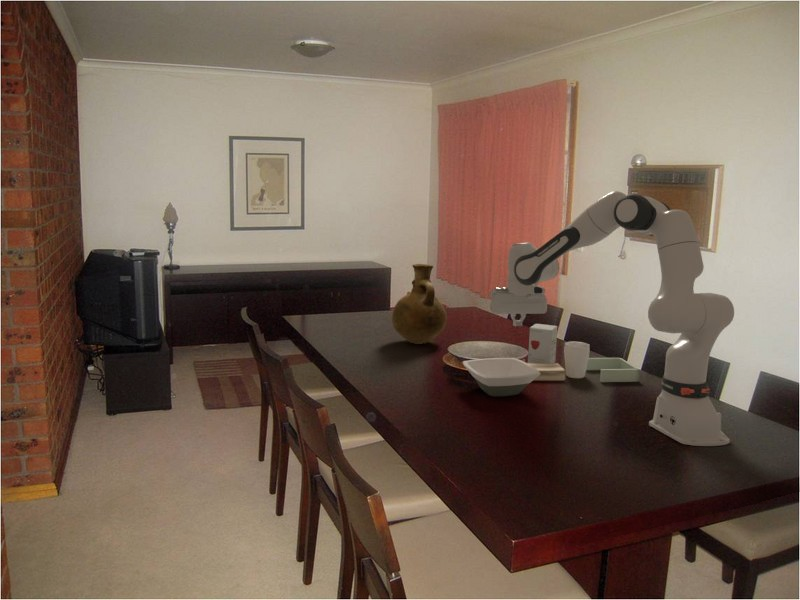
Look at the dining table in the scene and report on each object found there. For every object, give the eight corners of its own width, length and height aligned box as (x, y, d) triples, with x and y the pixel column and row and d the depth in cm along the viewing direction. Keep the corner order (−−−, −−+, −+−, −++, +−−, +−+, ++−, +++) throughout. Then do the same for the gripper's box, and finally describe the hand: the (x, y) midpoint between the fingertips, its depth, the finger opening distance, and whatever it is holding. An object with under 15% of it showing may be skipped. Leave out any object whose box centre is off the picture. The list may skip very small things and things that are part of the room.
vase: (455, 347, 271) (457, 266, 265) (403, 352, 262) (404, 268, 256) (432, 335, 293) (433, 260, 287) (383, 339, 284) (384, 262, 278)
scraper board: (564, 381, 226) (565, 370, 226) (531, 381, 226) (532, 370, 225) (557, 373, 236) (557, 363, 235) (525, 373, 236) (525, 363, 235)
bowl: (482, 404, 200) (483, 379, 198) (457, 383, 221) (457, 360, 220) (545, 399, 206) (546, 374, 204) (514, 378, 227) (515, 356, 226)
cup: (589, 380, 227) (591, 347, 225) (563, 378, 228) (565, 346, 226) (586, 373, 235) (588, 342, 233) (562, 371, 237) (563, 340, 235)
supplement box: (526, 364, 246) (528, 327, 244) (533, 359, 254) (535, 323, 251) (550, 367, 242) (552, 329, 239) (555, 362, 250) (557, 325, 247)
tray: (638, 381, 226) (639, 369, 225) (600, 382, 225) (601, 369, 224) (619, 369, 241) (620, 357, 241) (584, 369, 240) (585, 358, 239)
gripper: (492, 289, 220) (491, 327, 223) (549, 289, 222) (547, 327, 224) (488, 286, 227) (487, 323, 229) (544, 286, 228) (542, 323, 231)
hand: (517, 325), depth 227 cm, fingers closed
